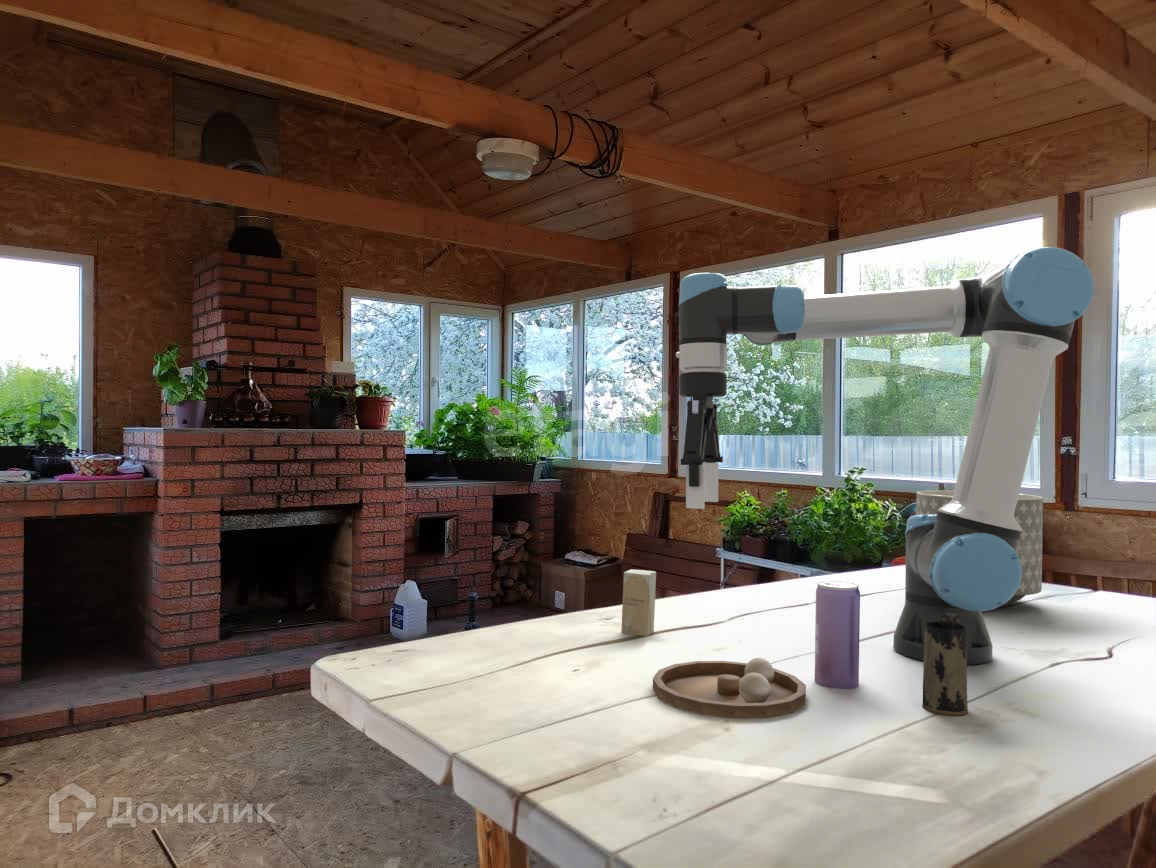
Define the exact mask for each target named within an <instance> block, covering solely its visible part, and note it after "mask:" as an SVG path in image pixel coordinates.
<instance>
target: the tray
mask: <svg viewBox="0 0 1156 868" xmlns="http://www.w3.org/2000/svg"><path fill="white" fill-rule="evenodd" d="M747 663H748V662H738V661H731V660H728V661H727V660H694V661H687V662H681V663H674V664H671V665H669V666H666V667H663V668H661V669H658V671H657V672H656V673H655V675H654V676H653V677H652V691H653V692H654V694H655V695H656V697H657V699H658V700H661V701H663V702H665V704H668V705H671V706H672V707H675V708H677V709H680V710H684V711H687V712H691V713H694V714H699V715H705V716H710V717H719V718H729V719H763V718H766V719H767V718H772V717H779V716H783V715H788V714H793V713H794V712H796V711H798V710H799V709H801V708H802V707H804V706H805V705H806V693H807V691H806V690H807V689H806V688H807V687H806V686H807V684H805V683H804V682H803V681H802V680H801V679H799V678H798V677H797V676H795V675H793V674H790V673H788V672H786V671H783V670H779V669H778V668H774V667H773V669H774V678H773V681H772V682H771V684H770V695H769V697H768V699H767V700H766V701H765V702H764V703H747V702H746V701H745V700H744V699H743V698H742V697H741V695H740V692H739V683H740V681H741V679H742V678H743V677H744V676H745V667H746V665H747Z"/></svg>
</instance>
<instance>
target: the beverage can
mask: <svg viewBox="0 0 1156 868" xmlns="http://www.w3.org/2000/svg"><path fill="white" fill-rule="evenodd" d="M859 588H860V586H859V584H857V583H856V582H852V581H848V580H847V581H845V580H834V579H829V580H828V579H827V580H819V581H817V586H816V589H815V627H814V631H815V632H814V633H815V634H814V640H815V641H814V645H815V646H814V683H815V684H817V685H819V686H821V687H825V688H829V689H835V690H852V689H856V688H858V687H859V685H860V684H859V682H860V679H859V678H860V671H859V670H860V631H861V629H860V626H861V624H860V623H861V621H860V619H861V617H860V616H861V615H860V614H861V613H860V612H861V592H860V589H859Z"/></svg>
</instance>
